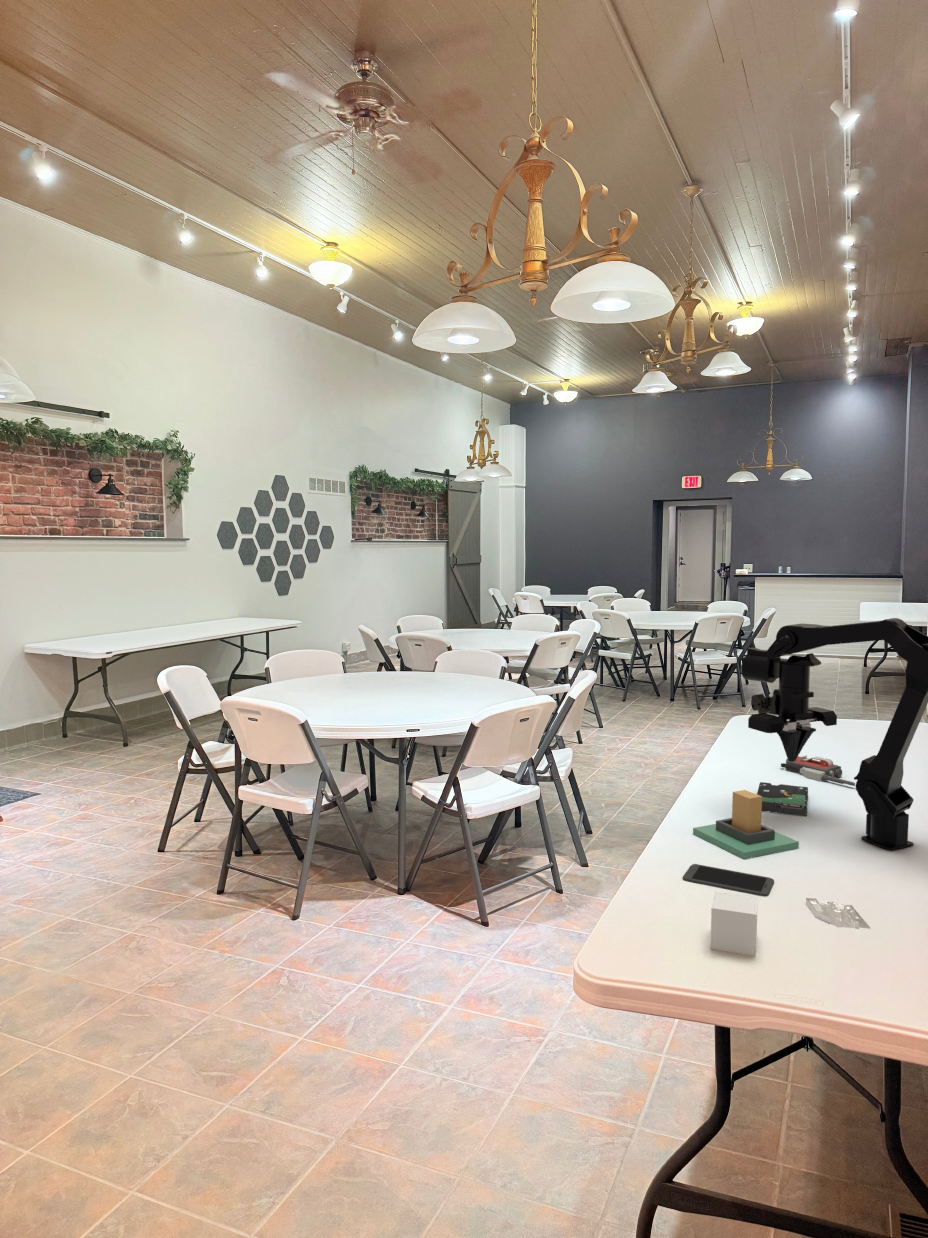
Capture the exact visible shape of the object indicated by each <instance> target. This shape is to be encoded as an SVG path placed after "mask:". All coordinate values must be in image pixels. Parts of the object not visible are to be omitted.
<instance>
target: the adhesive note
mask: <svg viewBox="0 0 928 1238" xmlns="http://www.w3.org/2000/svg"><path fill="white" fill-rule="evenodd" d="M758 902H759V898H758V896H755V895H754V896H753V895H745V894H740V893H739V894H738V893H733V892H732V893H731V892H723V891H717V890H714V892H713V897H712V903H711V907H710V908H711V913H710V914H711V918H710V949H712V950H718V951H723V952H724V951H725V952H729V953H730V952H731V953H736V954H742V955H748V956H754V957H756V956H757V954H756V953H757V939H758V938H757V936H758V905H759V903H758Z"/></svg>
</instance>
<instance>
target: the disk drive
mask: <svg viewBox="0 0 928 1238" xmlns="http://www.w3.org/2000/svg"><path fill="white" fill-rule="evenodd" d="M756 794H757V795H759V796H762V812H765V811H770V812H769V813H773V812H777V813H776V814H782V813H783V815H791V816H799V817H801V816H802V817H807V814H808V800H809V798H808V797H809V788H808V786H799V785H798V786H797V785H791V784H784V783H780V784H778V785H777V784H772V783H771V782H763V781H760V782H759V785H758V789H757V792H756Z"/></svg>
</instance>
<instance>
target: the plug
mask: <svg viewBox="0 0 928 1238" xmlns="http://www.w3.org/2000/svg"><path fill="white" fill-rule="evenodd" d="M731 809H732V810H731V818H732V826H733V827H736V828H738V829H740V830H742V831H744V832H747V833H753V832H758V831H761V825H762V816H763V815H762V813H763V811H762V796H759V795H757V793H754V792H751V791H749V790H746V789H743V790H736V791H732V804H731Z"/></svg>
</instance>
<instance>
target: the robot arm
mask: <svg viewBox="0 0 928 1238" xmlns="http://www.w3.org/2000/svg"><path fill="white" fill-rule="evenodd" d="M876 641H884V642H885V643H887V644H888V645H889V646H890V647H891V648H892V649H893V651H894V652H895V653H896V654H897V655H898V656H899V657H900V658H902V659H903V660H904V661H906V666H905V672H904V680H905V681H904V682H905V683H904V685H905V686H904V690H903V693H902V695H901V697H900V699H899V701H898V704H897V706H896V709H895V712H894V714H893V716H892V719H891V720H890V724H889V726H888V728H887V731H886V733H885V736H884V738H883V740H882V742H881V745H880V747H879V749H878V753H877V754H874V755H871V756H870V757H867V758H865V759H862V760H861V762H860V765H859V769H858V770H859V771H858V773H857V775H856V776H854V777H853V780H857V781H856V782H855V791H856V792H857V794H858V797H860V799H861V800H862V802H863V806H864V809H865V812H866V813H867V814H866V817H865V818H866V821H865V835H863V836H861V837H860V839H861V840H862V841H863V842H866V843H870V844H872V845H874V846H877V847H880V848H883V849H885V850H887V851H894V850H899V849H904V848H908V847H913V846H914V842H913V841H910V840H909V821H910V819H909V818H910V814H909V813H906V812H905V811H907V810H909V809H910V808H912V805H913V803H914V798H913V797H912V796H911V795H910V793H909V792H908V791H907V790H906V789H905V788H904V786H902V782H903V777H904V760H905V757H906V755H907V752H908V750H909V747H910V745H911V744H912V741H913V739H914V736H915V734H916V731H917V729H918V727H919V725H920V722H921V720H922V718H923V715H924V713H925V711H926V708H927V705H928V635H926V634H925V633H923V632H921V631H919V630H918V629H915V628H914V627H912V626H910V624H908V623H906V622H905V621H904V620H902V619H901V618H898V617H892V618H886V619H883V620H876V621H867V622H866V621H864V622H857V623H856V622H855V623H846V624H838V625H822V624H818V623H817V624H816V623H815V624H814V623H795V624H788V625H784V626H781V627H780V628H779V629H778V631H777V632H776V635H775V640H774V641H773V643H772V644H771V645H770V646H769V647H768V649H767V650H766V649H760V648H759V647H758V648H757V647H756V648H755V647H751V648H747V649H746V654H745V656H744V657H743V660H742V664H741V665H740V672H741V677H742V678H743V679H744V680H747V681H753V682H762V683H771V684H773V683H774V682H775V681H776V680H777V679H778V688H775V689H773V691H772V696H768V697H765V695H764V694H763V693H759V694H752V696H751V701H750V706H751V709H752V711H753V712H754V711H756V712H757V711H758V713H755V714H754V713H752V714H751V715H750V716H749V717H748V725H747V728H748V729H751V730H755V731H757V732H758V731H759V732H762V733H765V734H775V733H776V734H777V736H779V739H780V741H781V743H782V746H783V747H782V748H783V749H784V752H785V755H786V759H788V761H791V762H794V761H795V760H796V759H797V757H798V756H799V755H800V754H801V751H802V750H803V748H804V746H806V743H807V742H808V740H809V739H810V737H811V736H812V735H813V734H814V732H817V729H816V728H815V727H812V724H811V723H813V722H822V723H823V725H824V726H827V727H830V726H836V725H837V722H838V721H837V720H838V715H837V714H836V712H835V711H834V710H831V709H827V708H823V707H819V706H816V707H809V706H810V705H809V704H810V701H809V700H810V698H814V696H815V694H814V693H815V692H814V691H810V680H811V679H810V675H811V674H810V673H811V670H810V669H811V667H817V666H821V665H822V662H821V660H820V659H819V658H818V657H816V656H815V655H814V653H813V652H812V653H811V652H810V653H806V654H805V656H803V655H795V654H799V653H803V652H808V651H811V650H815V649H818V648H822V647H826V646H829V645H841V644H842V645H843V644H852V643H854V644H855V643H863V642H866V643H867V642H876ZM789 655H790V656H789ZM784 656H789V657H788V658H782V657H784Z"/></svg>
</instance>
